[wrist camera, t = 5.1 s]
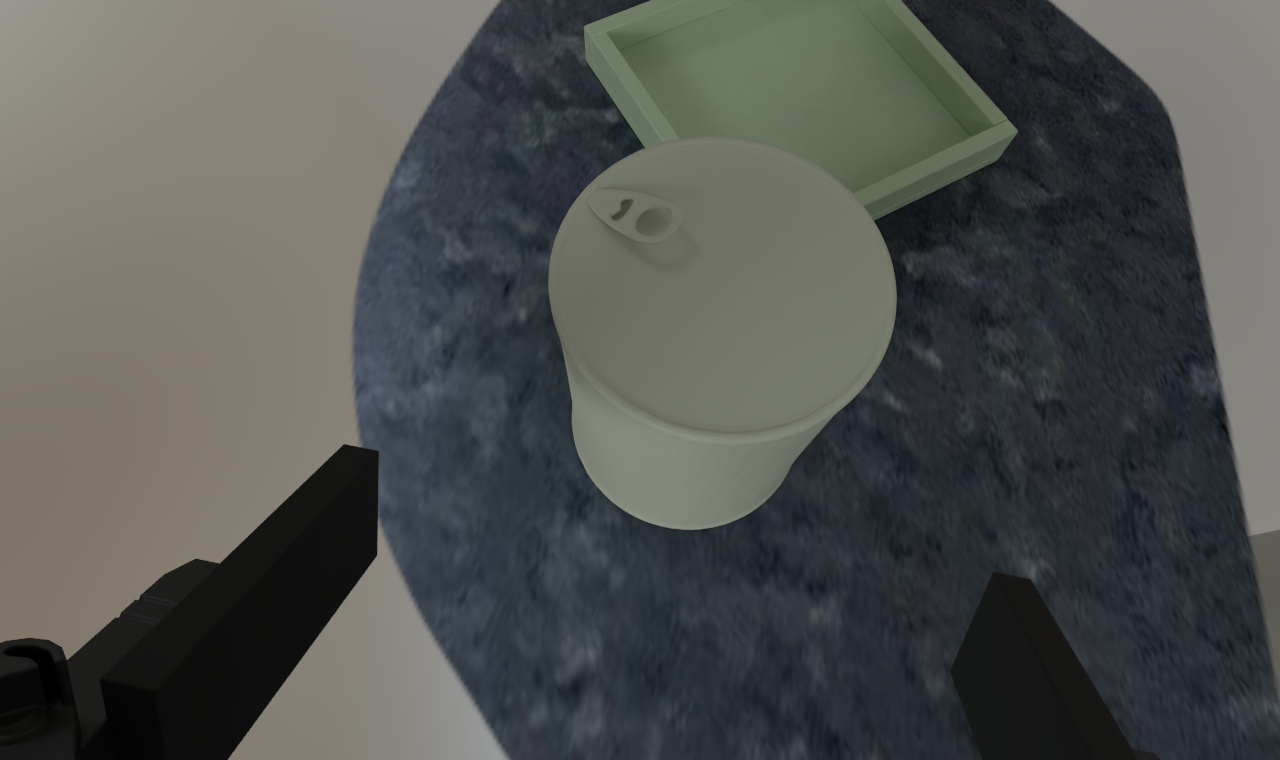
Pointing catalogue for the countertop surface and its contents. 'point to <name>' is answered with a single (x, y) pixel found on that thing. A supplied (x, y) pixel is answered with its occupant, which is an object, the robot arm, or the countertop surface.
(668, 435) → the can
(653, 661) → the countertop surface
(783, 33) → the tray
